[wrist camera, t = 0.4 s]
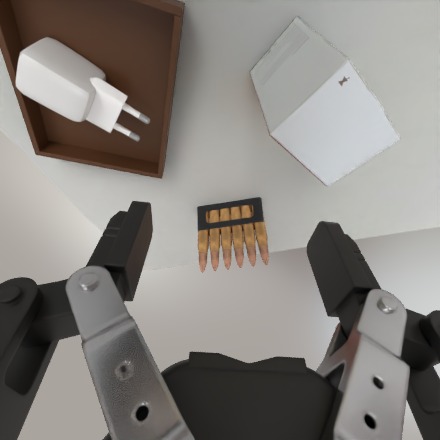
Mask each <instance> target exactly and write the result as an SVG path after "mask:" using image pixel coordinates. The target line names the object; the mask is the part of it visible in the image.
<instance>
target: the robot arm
mask: <svg viewBox="0 0 440 440" xmlns="http://www.w3.org/2000/svg"><path fill="white" fill-rule="evenodd" d="M152 231H153V226H152V213H151V204H150V203H148V202H138V201H133V202H132V203H131V205H130V207H129V210H128V212H124V211H119V212H118V213H117V214H116V215H114V216H113V217H112V218H111V219H110V221H109V223H108V225H107V227H106V229H105V231H104V233H103V236H102V237H101V239H100V240H99V242H98V244H97V246H96V248H95V250H94V252H93V254H92V256H91V258H90V260H89V262H88V263H87V265H86V267H84V268H81V269H79V270H78V271H76V272H75V273H73V274H72V275H71V276H70V278H69V279H66V280H63V281H58V282H52V283H47V284H42V285H37V284H36V282H35V281H34V280H32V279H30V278H23V277H21V278H14V279H10V280H8V281H5V282H3V283H1V284H0V440H17V438H18V436H19V434H20V431H21V429H22V426H23V424H24V422H25V419H26V417H27V415H28V412H29V410H30V408H31V405H32V403H33V400H34V398H35V396H36V393H37V391H38V389H39V386H40V384H41V382H42V379H43V377H44V374H45V372H46V370H47V367H48V365H49V363H50V360H51V358H52V355H53V353H54V351H55V348H56V346H57V344H58V341H59V340H60V339H64V338H68V337H72V336H76V335H81V339H82V348H83V352H84V355H85V359H86V362H87V364H88V368H89V371H90V374H91V377H92V380H93V383H94V386H95V390H96V392H97V396H98V399H99V402H100V405H101V408H102V411H103V414H104V417H105V421H106V423H107V427H108V430H109V433H108V434H107V436H105V438H104V439H103V440H402V432H403V424H404V415H405V407H406V399H407V401H408V404H409V406H410V409H411V411H412V413H413V416H414V418H415V421H416V423H417V425H418V428H419V430H420V433H421V435H422V437H423V440H440V378H439V376H438V375H437V373H436V371H435V369H434V367H433V366H434V365H436V364H439V363H440V311H437V310H436V311H433V312H431V313H430V314H428V315H427V316H424V315H422V314H419V313H416V312H414V311H411V310H408V309H405V307H404V305H403V304H402V303H401V301H399V300H398V299H397V298H396V297H395V296H394V295H392V294H391V293H389V292H387V291H384V290H382V289H381V288H380V286H379V284H378V282H377V280H376V279H375V277H374V275H373V273H372V271H371V270H370V268H369V266H368V264H367V262H366V261H365V259H364V257H363V255H362V254H361V251H360V250H359V248H358V246H357V244H356V243H355V242H354V241H353V240H352V239H351V238H350V237H349V236H348V235H347V234H344V232H343V230H342V228H341V227H340V225H339V224H338V223H334V222H325V221H321V222H319V224H318V225H317V227H316V229H315V231H314V233H313V235H312V236H311V238H310V240H309V242H308V244H307V255H308V258H309V261H310V264H311V267H312V270H313V273H314V276H315V279H316V282H317V285H318V288H319V291H320V294H321V297H322V300H323V303H324V306H325V309H326V312H327V315H328V316H331V317H339V320H340V323H339V324H338V325H337V327H336V330H335V332H334V334H333V337H332V339H331V342H330V344H329V347H328V349H327V352H326V354H325V357H324V359H323V361H322V363H321V364H320V366H319V367H318V369H317V370H316V372H315V371H314V370H312V369H310V368H307V367H306V363H305V359H304V358H292V357H274V358H270V359H266V360H262V361H258V362H254V363H245V362H242V361H239V360H237V359H234V358H231V357H228V356H225V355H222V354H219V353H205V352H190V354H189V359H187V360H183V361H180V362H178V363H175V364H173V365H171V366H170V367H168V368H166V369H165V370H164V371H162V372H161V373H160V371H159V369H158V367H157V365H156V363H155V361H154V359H153V357H152V355H151V353H150V351H149V349H148V346H147V344H146V343H145V340H144V338H143V336H142V334H141V332H140V330H139V328H138V326H137V324H136V322H135V320H134V319H133V317H132V316H130V314H129V313H128V311H127V308H126V306H125V304H124V301H133V298H134V295H135V291H136V288H137V285H138V282H139V278H140V275H141V272H142V268H143V265H144V262H145V258H146V255H147V252H148V249H149V245H150V242H151V238H152Z"/></svg>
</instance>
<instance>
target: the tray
mask: <svg viewBox="0 0 440 440" xmlns="http://www.w3.org/2000/svg"><path fill="white" fill-rule="evenodd" d="M184 7H185V3H183V2H180V1H177V0H0V48H1V51H2V54H3V57H4V60H5V64H6V67H7V70H8V73H9V76H10V79H11V82H12V85H13V88H14V91H15V94H16V97H17V100H18V103H19V106H20V109H21V112H22V115H23V118H24V121H25V124H26V127H27V130H28V133H29V136H30V139H31V142H32V145H33V148H34V150H35V154H36V155H41V156H46V157H51V158H56V159H62V160H67V161H72V162H77V163H82V164H88V165H93V166H98V167H103V168H109V169H114V170H119V171H124V172H129V173H135V174H140V175H145V176H150V177H155V178H161V179H162V176H163V171H164V166H165V158H166V150H167V142H168V134H169V126H170V118H171V110H172V102H173V95H174V87H175V79H176V71H177V63H178V55H179V47H180V39H181V31H182V23H183V15H184ZM46 37H49V38H52V39H55V40H57V41H59V42H61V43H62V44H64V45H65V46H67V47H68V48H70V49H72V50H73V51H75V52H76V53H78V54H79V55H81V56H82V57H84V58H85V59H87V60H88V61H90V62H91V63H93V64H94V65H95V66H97V67H98V68H100V69H101V70H102V71H103V72H104V73H105V75H106V83H108V84H110V85H111V86H113V87H114V88H116V89H117V90H119V91H120V92H122V93H124V94H125V95H127V96H128V97H127V100H126V102H125V103H126V104H128V105H129V106H131V107H132V108H134V109H135V110H137V111H138V112H140V113H142V114H144V115H145V116H147V117H149V118H150V123H149V124H146V123H144V122H142V121H141V120H139V119H138V118H136V117H135V116H133V115H132V114H130V113H128V112H126V111H124V110H123V109H122V111H121V113H120V115H119V117H118V119H117V121H116V122H117V123H118V124H120V125H122V126H123V127H125V128H126V129H128V130H130V131H132V132H134V133H135V134H137V135H139V136H140V140H139V141H135V140H133V139H132V138H130V137H128V136H127V135H125V134H123V133H122V132H120V131H117V130H116V129H114V128H113V130H112V132H111V133H109V132H107V131H106V130H104V129H102V128H100V127H98V126H97V125H95V124H93V123H91V122H89V121H87V120H86V119H85V120H84V121H82V122H76V121H73V120H70V119H68V118H66V117H64V116H62V115H61V114H59V113H57V112H55V111H53V110H51V109H49V108H47V107H46V106H44V105H42V104H40V103H38V102H36V101H35V100H33V99H31V98H29V97H28V96H26V95H24V94H22V93H21V92H20V91H19V89H18V88H17V87H16V73H17V66H18V59H19V55H20V52H21V51H23V50H24V49H25V48H27V47H29V46H30V45H32V44H34V43H36V42H37V41H39V40H41V39H43V38H46Z"/></svg>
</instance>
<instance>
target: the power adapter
mask: <svg viewBox="0 0 440 440" xmlns="http://www.w3.org/2000/svg"><path fill="white" fill-rule="evenodd" d="M16 87H17V88H18V89H19V91H20V92H21V93H22V94H24V95H26V96H28V97H29V98H31V99H33V100H35V101H36V102H38V103H40V104H42V105H44V106H46V107H47V108H49V109H51V110H53V111H55V112H57V113H59V114H61V115H62V116H64V117H66V118H68V119H70V120H73V121H76V122H82V121H84V120H85V119H86V120H87V121H89V122H91V123H93V124H95V125H97V126H98V127H100V128H102V129H104V130H106V131H107V132H109V133H111V132H112V130H113V128H114V129H116V130H117V131H120V132H122V133H123V134H125V135H127V136H128V137H130V138H132V139H133V140H135V141H139V140H140V136H139V135H137V134H135V133H134V132H132V131H130V130H128V129H126V128H125V127H123V126H122V125H120V124H118V123H117V122H116V121H117V119H118V117H119V115H120V113H121V111H122V109H123V110H124V111H126V112H128V113H130V114H132V115H133V116H135V117H136V118H138V119H139V120H141V121H142V122H144V123H146V124H149V123H150V118H149V117H147V116H145V115H144V114H142V113H140V112H138V111H137V110H135V109H134V108H132V107H131V106H129V105H128V104H126V103H125V102H126V100H127V97H128V96H127V95H125V94H124V93H122V92H120V91H119V90H117V89H116V88H114V87H113V86H111V85H110V84H108V83H106V75H105V73H104V72H103V71H102V70H101V69H100V68H98V67H97V66H95V65H94V64H93V63H91V62H90V61H88V60H87V59H85V58H84V57H82V56H81V55H79V54H78V53H76V52H75V51H73V50H72V49H70V48H68V47H67V46H65V45H64V44H62V43H61V42H59V41H57V40H55V39H52V38H49V37H46V38H43V39H41V40H39V41H37V42H36V43H34V44H32V45H30V46H29V47H27V48H25V49H24V50H23V51H21V52H20V55H19V59H18V66H17V73H16Z"/></svg>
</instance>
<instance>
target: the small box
mask: <svg viewBox="0 0 440 440" xmlns="http://www.w3.org/2000/svg"><path fill="white" fill-rule="evenodd" d="M250 75H251V78H252V81H253V84H254V87H255V90H256V93H257V96H258V100H259V103H260V106H261V109H262V112H263V115H264V118H265V121H266V124H267V127H268V131H269V134H270V136H271V137H272V138H273V139H274V140H275V141H277V142H278V143H279V144H280V145H281V146H282V147H283V148H284V149H285V150H287V151H288V152H289V153H290V154H291V155H292V156H293V157H294V158H295V159H297V160H298V161H299V162H300V163H301V164H302V165H303V166H304V167H305V168H307V169H308V170H309V171H310V172H311V173H312V174H313V175H314V176H316V177H317V178H318V179H319V180H320V181H321V182H322V183H323V184H324V185H326V186H330V185H331V184H333V183H334V182H336V181H337V180H339V179H340V178H342V177H343V176H345V175H347V174H348V173H350V172H351V171H353V170H354V169H356V168H357V167H359V166H360V165H362V164H363V163H365V162H367V161H368V160H370V159H371V158H373V157H374V156H376V155H377V154H379V153H380V152H382V151H384V150H385V149H387V148H388V147H390V146H391V145H393V144H394V143H396V142H398V141H399V140H400V135H399V134H398V132H397V130H396V129H395V127H394V125H393V124H392V122H391V121H390V119H389V117H388V116H387V114H386V112H385V111H384V109H383V107H382V105H381V104H380V102H379V100H378V99H377V97H376V96H375V94H374V93H373V92H372V91H371V89H370V88H369V87H368V85H367V84H366V82H365V81H364V79H363V78H362V76H361V75H360V73H359V72H358V70H357V69H356V68H355V66H354V65H353V63H352V62H351V61H350V59H349V58H347V57H346V56H345V55H344V54H343V53H342V52H340V51H339V50H338V49H337V48H335V47H334V46H333V45H332V44H331V43H330V42H328V41H327V40H326V39H325V38H323V37H322V36H321V35H319V34H318V33H317V32H316V31H314V30H313V29H312V28H311V27H309V26H308V25H307V24H306V23H305V22H304V21H303V20H302V19H301V18H299V17H298V16H297V17H296V18H295V19H294V20H293V22H292V23H291V24H290V25H289V26H288V28H287V29H286V30H285V31H284V32H283V33H282V35H281V36H280V37H279V38H278V39H277V41H276V42H275V43H274V44H273V45H272V47H271V48H270V49H269V50H268V51H267V53H266V54H265V55H264V56H263V57H262V59H261V60H260V61H259V62H258V63H257V64H256V65H255V67H254V68H253V69H252V70H251V71H250Z"/></svg>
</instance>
